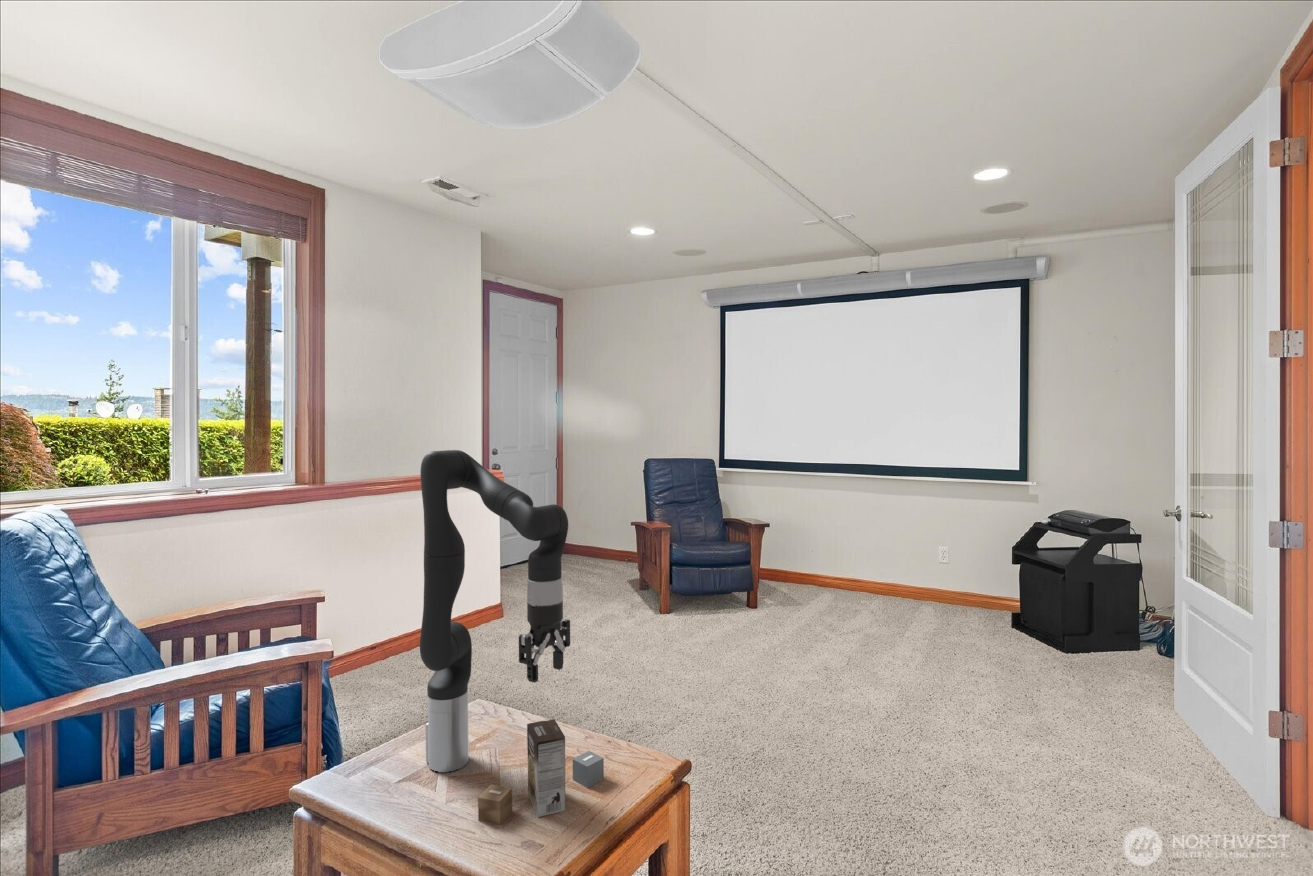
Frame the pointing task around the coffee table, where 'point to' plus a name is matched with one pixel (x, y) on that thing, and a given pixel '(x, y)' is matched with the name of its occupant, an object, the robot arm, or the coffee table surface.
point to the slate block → (588, 769)
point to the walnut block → (495, 804)
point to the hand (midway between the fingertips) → (545, 675)
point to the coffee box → (546, 767)
